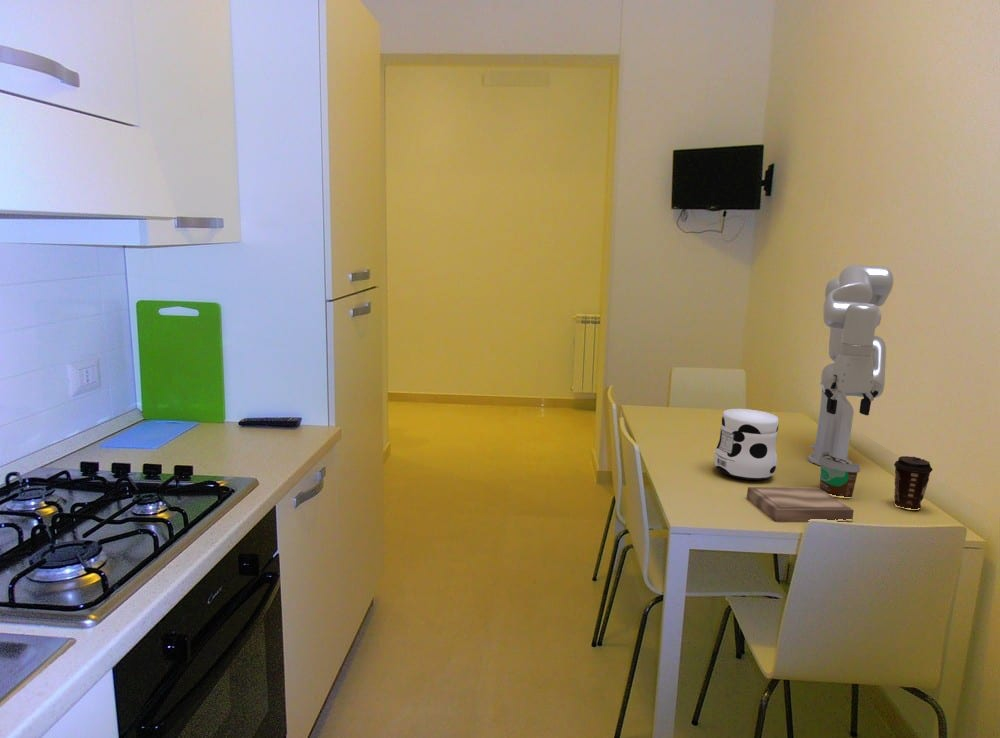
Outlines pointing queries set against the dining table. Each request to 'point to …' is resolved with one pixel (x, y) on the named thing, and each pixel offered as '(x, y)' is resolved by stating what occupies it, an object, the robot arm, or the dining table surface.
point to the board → (798, 504)
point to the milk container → (747, 444)
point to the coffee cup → (911, 481)
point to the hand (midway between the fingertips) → (847, 413)
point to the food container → (837, 475)
